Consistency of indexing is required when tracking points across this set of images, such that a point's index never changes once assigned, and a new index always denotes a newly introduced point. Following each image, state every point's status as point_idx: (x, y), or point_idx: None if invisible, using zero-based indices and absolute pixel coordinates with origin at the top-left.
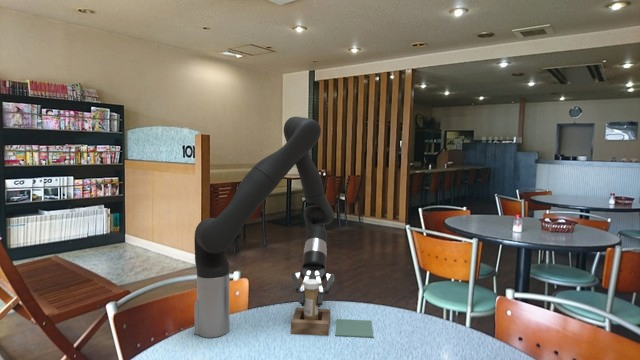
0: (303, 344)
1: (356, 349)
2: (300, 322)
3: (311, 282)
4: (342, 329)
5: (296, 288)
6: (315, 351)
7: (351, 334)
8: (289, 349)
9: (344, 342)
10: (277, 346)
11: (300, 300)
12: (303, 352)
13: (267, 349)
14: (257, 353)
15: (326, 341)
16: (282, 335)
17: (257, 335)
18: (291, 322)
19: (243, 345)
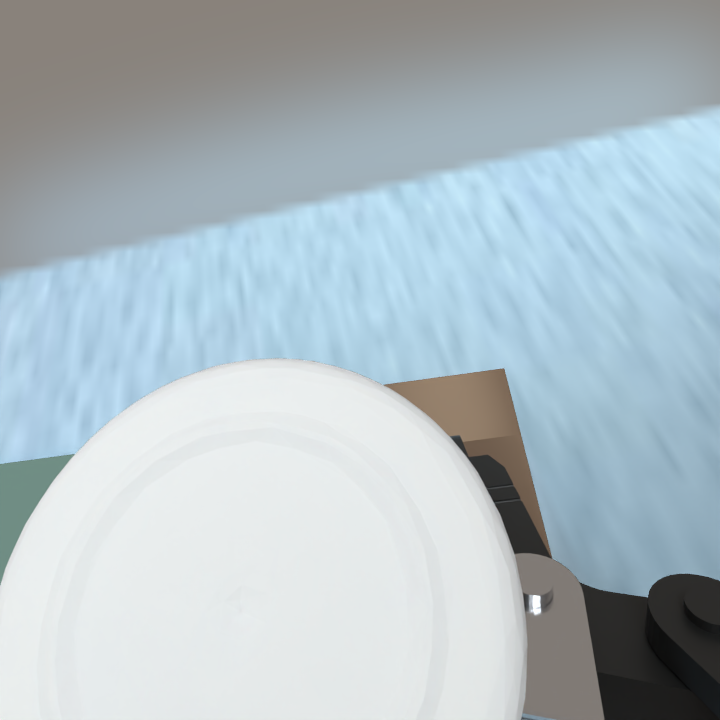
0: (358, 291)
1: (46, 312)
2: (419, 385)
3: (228, 457)
4: None
5: (684, 588)
6: (275, 239)
7: (41, 476)
8: (423, 223)
9: (107, 374)
10: (505, 234)
11: (485, 473)
12: (338, 215)
13: (546, 194)
14: (577, 150)
15: (221, 359)
16: (537, 368)
17: (712, 326)
18: (498, 369)
19: (710, 196)
